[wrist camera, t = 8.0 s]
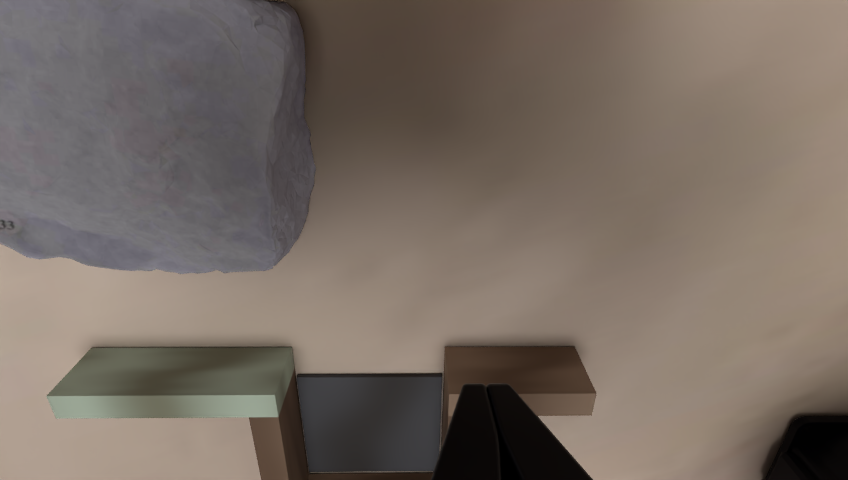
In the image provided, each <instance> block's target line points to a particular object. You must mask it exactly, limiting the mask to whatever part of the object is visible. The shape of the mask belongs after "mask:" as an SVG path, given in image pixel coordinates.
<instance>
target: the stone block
mask: <svg viewBox="0 0 848 480" xmlns="http://www.w3.org/2000/svg"><path fill="white" fill-rule="evenodd" d="M305 82H306V75H305V43H304V38H303V30H302V28H301V25H300V21H299V17H298V15H297V13H296V12H295V10H294V9H293V8H292V7H290V6H289V5H288V4H287V3H285V2H277V1H267V0H0V244H2V245H5V246H7V247H9V248H11V249H13V250H15V251H17V252H19V253H20V254H22V255H24V256H26V257H29V258H35V259H46V258H55V257H63V258H69V259H73V260H75V261H77V262H80V263H82V264H85V265H88V266H94V267H101V268H109V269H118V270H129V271H135V270H144V271H152V270H155V269H159V270H162V271H167V272H176V273H179V274H184V273H206V272H211V271H214V270H219V271H221V272H223V273H228V272H245V271H266V270H269V269H272V268H273V266H275V265H276V264H277V263H278V262H279V261H280V260H281V259H282V258H283V257H284V256H285V255H286V254H287V253H288V252H289V251H290V249H291V247H292V246H293V244H294V243H295V241H296V240H297V239H298V238H299V236H300V234H301V231H302V229H303V225H304V223H305V221H306V217H307V214H308V203H309V199H310V194H311V191H312V188H313V186H314V176H315V171H316V166H315V164H314V160H313V154H312V150H311V143H310V136H311V133H310V130H309V128H308V126H307V123H306V121H305V118H304V96H305V90H306V89H305Z"/></svg>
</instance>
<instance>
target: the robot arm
mask: <svg viewBox="0 0 848 480" xmlns="http://www.w3.org/2000/svg"><path fill="white" fill-rule="evenodd" d="M431 480H593V479H592V478H591V477H590V476H589V475H588V474H587V472H586V471H585V470H584V469H583V468H582V467H581V466H580V464H579V463H578V462H577V461H576V460H575V459H574V458H573V456H572V455H571V454H570V453H569V452H568V451H567V450H566V448H565V447H564V446H563V445H562V444H561V443H560V442H559V440H558V439H557V438H556V437H555V436H554V435H553V433H552V432H551V431H550V430H549V429H548V428H547V427H546V425H545V424H544V423H543V422H542V421H541V420H540V419H539V417H538V416H537V415H536V414H535V413H534V412H533V411H532V409H531V408H530V407H529V406H528V405H527V404H526V403H525V401H524V400H523V399H522V398H521V397H520V396H519V395H518V393H517V392H516V391H515V390H514V389H513V388H512V387H511V386H510V385H509V384H507V383H489V384H487V385H486V386H485V385H484V384H482V383H466V384H464V385H463V386H462V388H461V391H460V394H459V397H458V400H457V403H456V406H455V409H454V412H453V415H452V418H451V421H450V424H449V427H448V430H447V433H446V436H445V439H444V442H443V445H442V448H441V451H440V454H439V457H438V460H437V463H436V466H435V469H434V472H433V474H432V477H431ZM765 480H848V416H804V417H799V418H797V419H796V420H794V421H793V423H792V424H791V426H790V428H789V430H788V433H787V435H786V437H785V439H784V441H783V443H782V445H781V447H780V450H779V452H778V454H777V456H776V458H775V460H774V462H773V464H772V467H771V469H770V471H769V473H768V475H767V477H766V479H765Z"/></svg>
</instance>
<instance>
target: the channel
mask: <svg viewBox="0 0 848 480" xmlns="http://www.w3.org/2000/svg"><path fill="white" fill-rule="evenodd" d="M466 383H482V384H484V385H485V386H486V385H487V384H489V383H507V384H509V385H510V386H511V387H512V388H513V389H514V390H515V391H516V392H517V393H518V395H519V396H520V397H521V398H522V399H523V400H524V401H525V403H526V404H527V405H528V406H529V407H530V408H531V409H532V411H533V412H534V413H535V414H536V415H537V416H567V415H592V412H593V407H594V403H595V398H596V391H595V389H594V387H593V385H592V383H591V381H590V379H589V376H588V374H587V372H586V370H585V368H584V366H583V364H582V362H581V359H580V357H579V355H578V353H577V351H576V349H575V347H445V358H444V384H443V410H442V436H441V448H442V445H443V442H444V439H445V436H446V433H447V430H448V427H449V424H450V421H451V418H452V415H453V412H454V409H455V406H456V403H457V400H458V397H459V394H460V391H461V388H462V386H463V385H464V384H466ZM297 384H298V390H297ZM441 390H442V374H315V375H297V382H296V375H295V368H294V360H293V353H292V347H229V348H91V349H90V350H89V351H88V352H87V353H86V354H85V356H84V357H83V358H82V359H81V360H80V361H79V362H78V363H77V364H76V365H75V366H74V367H73V368H72V369H71V370H70V372H69V373H68V374H67V375H66V376H65V377H64V378H63V379H62V380H61V381H60V382H59V383H58V384H57V385H56V386H55V387H54V389H53V390H52V391H51V392H50V393H49V394H48V395H47V399H48V401H49V403H50V406H51V408H52V410H53V412H54V415H55V417H56V418H221V417H249V420H250V425H251V430H252V435H253V440H254V445H255V450H256V455H257V460H258V465H259V470H260V475H261V480H431V477H432V474H433V473H345V474H309V472H354V471H434V469H435V466H436V463H437V460H438V457H439V445H440V418H441ZM298 391H299V397H298ZM299 399H300V405H299ZM300 406H301V412H300ZM301 414H302V420H301ZM302 421H303V427H302ZM303 429H304V435H303ZM304 436H305V442H304ZM305 444H306V449H305ZM306 451H307V457H306ZM307 459H308V464H307ZM308 466H309V472H308Z"/></svg>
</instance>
